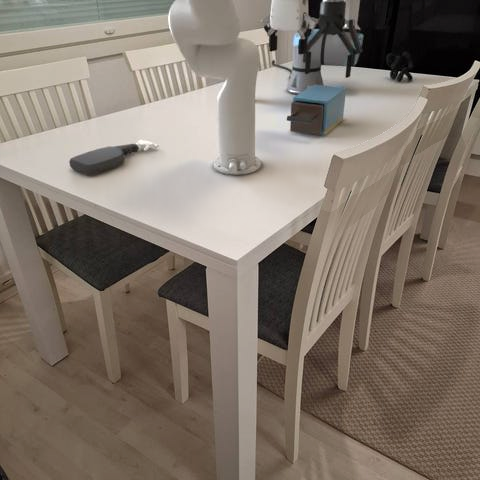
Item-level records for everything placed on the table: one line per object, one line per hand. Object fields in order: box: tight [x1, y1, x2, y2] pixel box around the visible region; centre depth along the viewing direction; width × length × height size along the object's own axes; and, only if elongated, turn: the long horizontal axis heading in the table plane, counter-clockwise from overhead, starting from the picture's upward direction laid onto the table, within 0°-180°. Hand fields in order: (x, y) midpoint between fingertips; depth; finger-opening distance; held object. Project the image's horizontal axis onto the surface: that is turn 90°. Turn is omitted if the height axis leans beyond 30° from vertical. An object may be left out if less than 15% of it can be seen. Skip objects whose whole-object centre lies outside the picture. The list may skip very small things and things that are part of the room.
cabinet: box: [292, 85, 347, 137], centre depth 145 cm, size 19×11×11 cm, turn 151°
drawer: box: [286, 101, 324, 136], centre depth 141 cm, size 24×10×9 cm, turn 151°
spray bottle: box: [68, 139, 160, 177], centre depth 124 cm, size 3×11×24 cm
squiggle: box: [385, 51, 414, 83], centre depth 198 cm, size 11×10×15 cm
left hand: (287, 52), depth 129 cm, fingers open, 9 cm apart
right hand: (327, 75), depth 144 cm, fingers open, 13 cm apart
